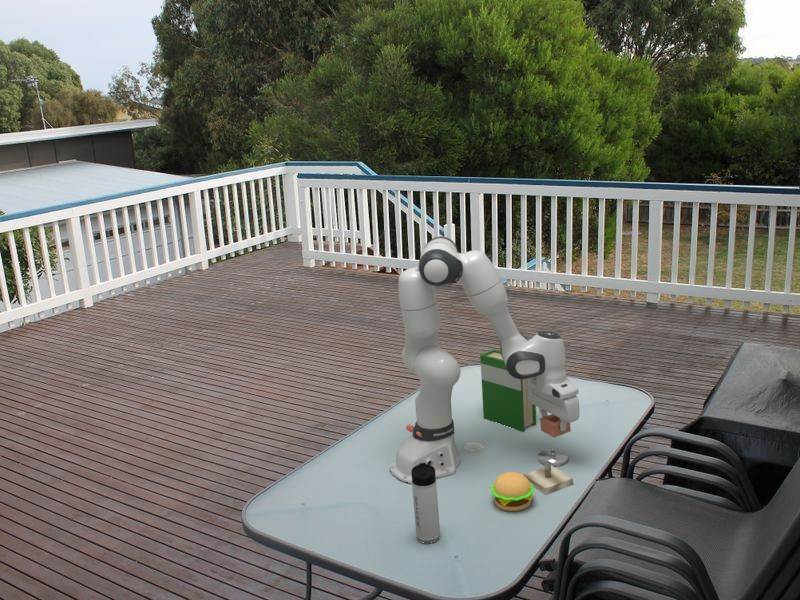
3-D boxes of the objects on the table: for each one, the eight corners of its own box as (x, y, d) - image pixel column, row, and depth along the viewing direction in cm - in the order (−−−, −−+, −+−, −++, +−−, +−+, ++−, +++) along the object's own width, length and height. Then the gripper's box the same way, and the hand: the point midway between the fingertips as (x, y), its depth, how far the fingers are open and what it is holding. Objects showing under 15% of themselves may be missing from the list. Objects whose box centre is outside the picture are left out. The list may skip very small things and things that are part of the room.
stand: (545, 494, 210) (544, 474, 209) (524, 480, 219) (523, 460, 217) (572, 484, 215) (572, 464, 213) (550, 470, 223) (550, 451, 222)
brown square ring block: (554, 437, 224) (553, 425, 222) (540, 430, 229) (540, 418, 228) (570, 431, 226) (570, 419, 225) (557, 424, 232) (556, 412, 231)
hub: (551, 469, 224) (550, 458, 223) (532, 458, 232) (532, 447, 231) (574, 461, 228) (573, 449, 227) (555, 450, 236) (554, 439, 235)
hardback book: (536, 424, 255) (534, 359, 249) (522, 432, 250) (520, 365, 244) (497, 411, 268) (494, 349, 262) (483, 418, 263) (480, 355, 257)
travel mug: (439, 529, 198) (434, 461, 193) (441, 543, 192) (436, 473, 186) (415, 531, 198) (410, 463, 193) (417, 545, 192) (411, 475, 186)
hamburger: (541, 510, 203) (540, 481, 201) (499, 517, 201) (497, 489, 199) (525, 489, 215) (524, 462, 212) (485, 496, 212) (484, 469, 210)
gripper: (522, 376, 231) (524, 417, 234) (565, 396, 213) (567, 440, 217) (538, 371, 233) (540, 411, 237) (582, 390, 216) (584, 433, 219)
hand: (553, 425), depth 227 cm, fingers closed on brown square ring block, 6 cm apart
